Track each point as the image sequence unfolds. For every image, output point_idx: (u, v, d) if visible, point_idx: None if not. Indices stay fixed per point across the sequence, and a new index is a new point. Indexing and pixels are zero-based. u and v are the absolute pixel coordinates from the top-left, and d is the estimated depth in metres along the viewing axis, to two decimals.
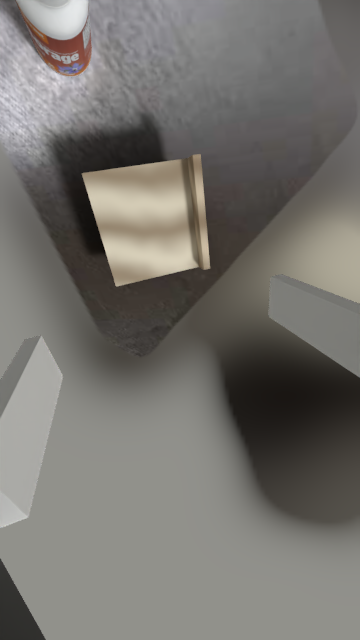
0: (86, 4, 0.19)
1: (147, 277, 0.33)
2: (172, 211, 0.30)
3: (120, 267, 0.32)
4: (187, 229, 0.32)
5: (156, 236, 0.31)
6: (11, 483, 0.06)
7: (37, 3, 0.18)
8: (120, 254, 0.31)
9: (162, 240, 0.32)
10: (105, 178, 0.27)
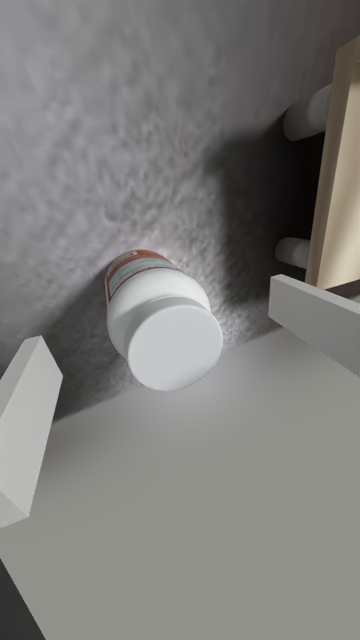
0: (179, 274, 0.12)
1: None
2: None
3: None
4: None
5: None
6: (11, 483, 0.06)
7: None
8: None
9: None
10: (329, 259, 0.17)
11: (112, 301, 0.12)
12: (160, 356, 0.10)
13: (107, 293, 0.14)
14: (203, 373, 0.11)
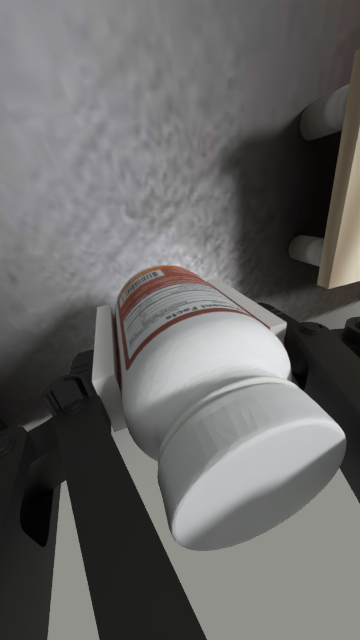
0: (250, 326, 0.07)
1: None
2: None
3: None
4: None
5: None
6: None
7: None
8: None
9: None
10: (343, 256, 0.17)
11: (133, 373, 0.07)
12: (232, 507, 0.05)
13: (121, 341, 0.09)
14: (297, 508, 0.06)
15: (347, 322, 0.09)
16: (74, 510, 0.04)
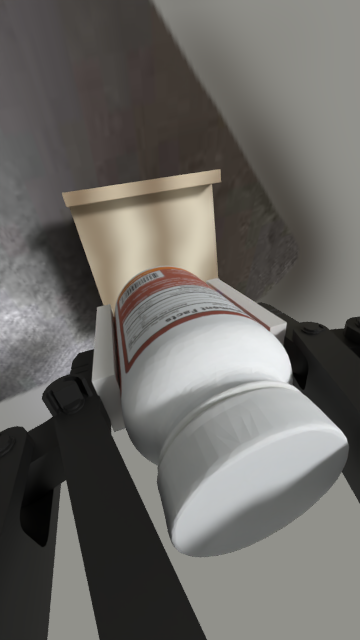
0: (251, 329, 0.07)
1: (215, 263, 0.27)
2: (138, 229, 0.23)
3: None
4: (160, 205, 0.22)
5: (169, 252, 0.25)
6: None
7: None
8: None
9: (174, 243, 0.24)
10: (112, 308, 0.25)
11: (133, 377, 0.07)
12: (233, 514, 0.05)
13: (121, 343, 0.09)
14: (299, 514, 0.06)
15: (347, 322, 0.09)
16: (74, 510, 0.04)
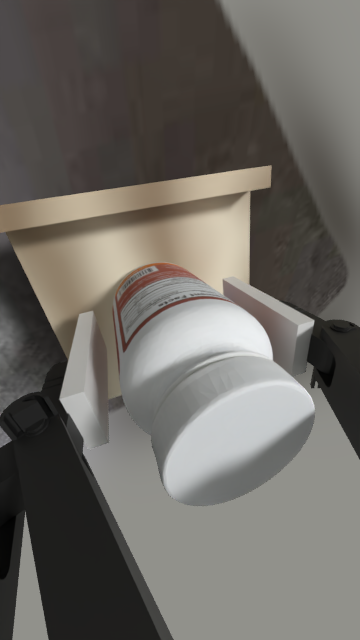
0: (233, 310, 0.08)
1: None
2: (129, 264, 0.14)
3: None
4: (166, 225, 0.13)
5: None
6: (98, 413, 0.08)
7: None
8: None
9: None
10: None
11: (129, 353, 0.07)
12: (216, 462, 0.06)
13: (119, 330, 0.10)
14: (276, 470, 0.07)
15: None
16: (34, 546, 0.04)
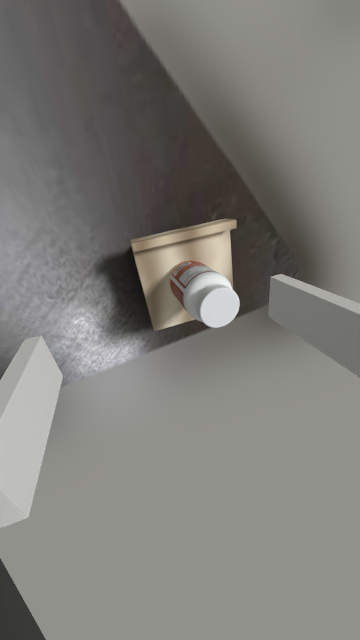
0: (218, 274, 0.25)
1: (231, 281, 0.36)
2: (177, 261, 0.32)
3: None
4: (193, 243, 0.31)
5: None
6: (11, 483, 0.06)
7: None
8: None
9: None
10: (156, 316, 0.35)
11: (188, 287, 0.25)
12: (212, 310, 0.24)
13: (179, 284, 0.28)
14: (230, 319, 0.25)
15: None
16: None
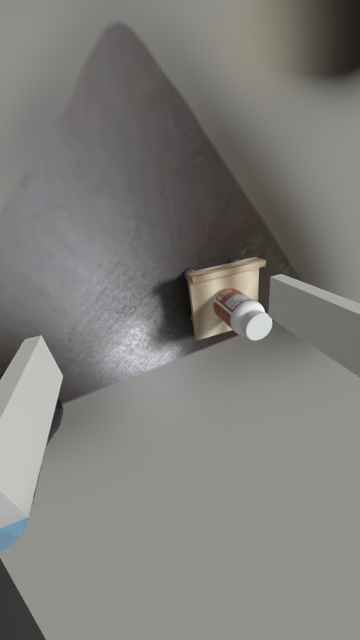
0: (256, 303, 0.36)
1: None
2: (219, 288, 0.42)
3: None
4: (232, 275, 0.42)
5: None
6: (11, 483, 0.06)
7: None
8: None
9: None
10: (199, 329, 0.45)
11: (235, 311, 0.36)
12: (254, 328, 0.34)
13: (226, 308, 0.38)
14: (265, 335, 0.36)
15: None
16: None
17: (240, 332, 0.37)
